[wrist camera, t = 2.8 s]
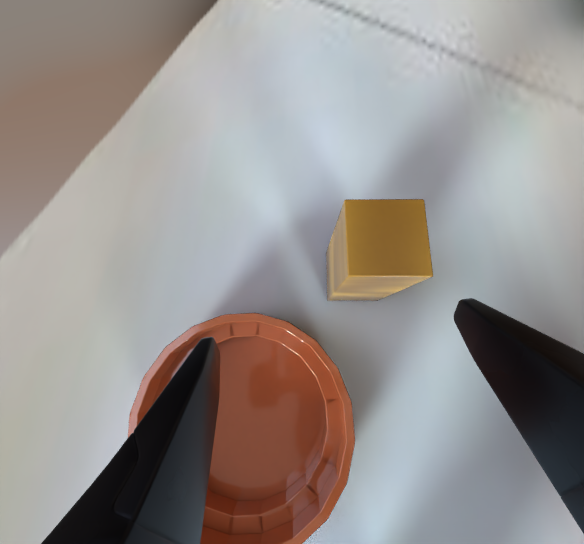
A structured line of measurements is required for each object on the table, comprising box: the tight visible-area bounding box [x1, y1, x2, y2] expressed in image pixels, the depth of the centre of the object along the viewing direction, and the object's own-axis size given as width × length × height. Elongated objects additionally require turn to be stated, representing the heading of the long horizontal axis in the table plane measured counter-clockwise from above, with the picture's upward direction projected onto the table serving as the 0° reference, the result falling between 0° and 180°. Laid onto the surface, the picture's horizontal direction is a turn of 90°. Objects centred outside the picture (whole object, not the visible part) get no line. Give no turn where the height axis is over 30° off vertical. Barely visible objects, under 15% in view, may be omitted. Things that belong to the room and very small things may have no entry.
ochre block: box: [326, 199, 433, 301], centre depth 20 cm, size 4×4×10 cm
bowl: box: [128, 313, 355, 544], centre depth 20 cm, size 15×15×4 cm
